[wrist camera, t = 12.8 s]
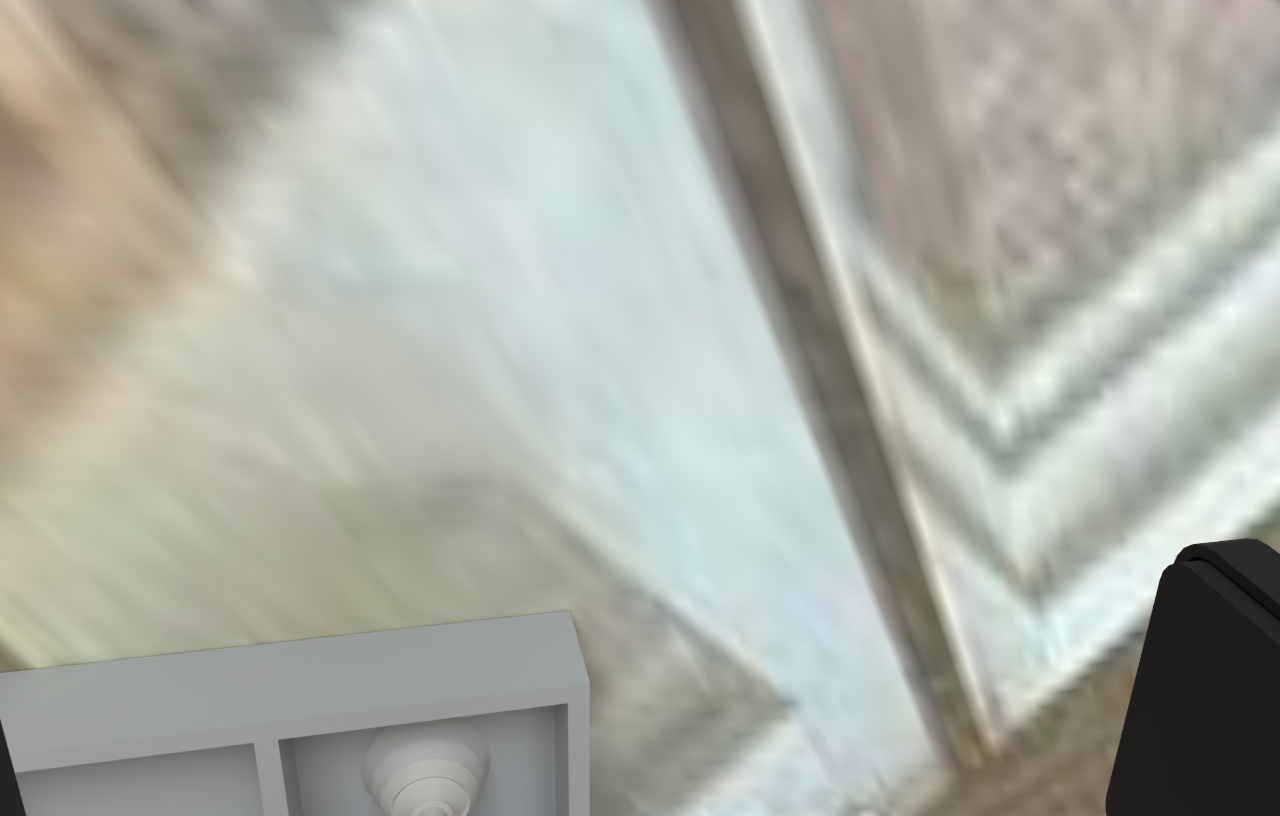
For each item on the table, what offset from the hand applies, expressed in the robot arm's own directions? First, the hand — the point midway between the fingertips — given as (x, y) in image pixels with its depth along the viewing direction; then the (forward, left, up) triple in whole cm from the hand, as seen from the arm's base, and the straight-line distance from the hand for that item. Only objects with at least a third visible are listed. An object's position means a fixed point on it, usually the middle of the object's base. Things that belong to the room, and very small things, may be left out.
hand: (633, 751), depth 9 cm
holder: (-6, +26, -30) cm, 40 cm away
